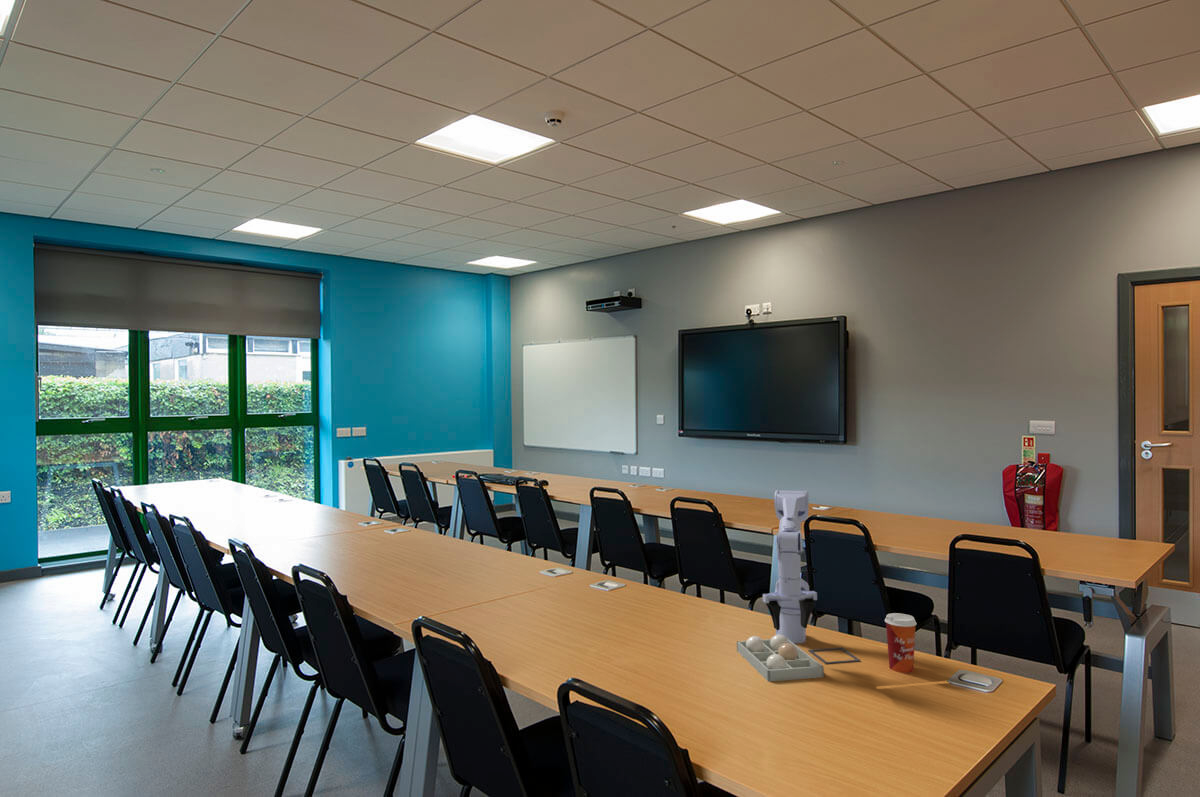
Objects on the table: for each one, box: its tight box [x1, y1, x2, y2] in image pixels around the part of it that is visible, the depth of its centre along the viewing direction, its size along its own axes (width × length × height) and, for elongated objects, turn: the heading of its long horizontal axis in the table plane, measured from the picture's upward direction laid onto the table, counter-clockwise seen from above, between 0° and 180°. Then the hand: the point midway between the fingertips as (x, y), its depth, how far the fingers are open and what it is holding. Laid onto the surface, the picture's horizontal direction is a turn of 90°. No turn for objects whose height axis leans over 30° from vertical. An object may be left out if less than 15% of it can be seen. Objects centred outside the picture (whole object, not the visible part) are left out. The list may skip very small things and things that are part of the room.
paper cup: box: [884, 612, 918, 674], centre depth 181 cm, size 8×8×14 cm
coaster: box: [808, 647, 862, 665], centre depth 190 cm, size 10×10×1 cm
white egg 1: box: [745, 635, 764, 653], centre depth 192 cm, size 5×5×5 cm
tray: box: [736, 638, 825, 682], centre depth 185 cm, size 22×15×3 cm
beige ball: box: [778, 643, 797, 661], centre depth 186 cm, size 5×5×5 cm
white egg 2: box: [770, 634, 789, 651], centre depth 193 cm, size 5×5×5 cm
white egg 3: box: [766, 654, 786, 670], centre depth 178 cm, size 5×5×5 cm
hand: (790, 628), depth 186 cm, fingers open, 7 cm apart
